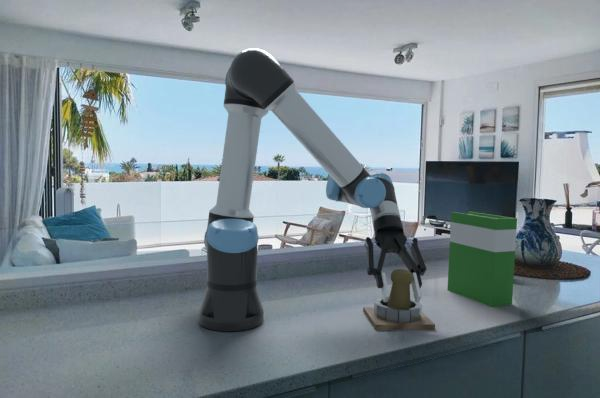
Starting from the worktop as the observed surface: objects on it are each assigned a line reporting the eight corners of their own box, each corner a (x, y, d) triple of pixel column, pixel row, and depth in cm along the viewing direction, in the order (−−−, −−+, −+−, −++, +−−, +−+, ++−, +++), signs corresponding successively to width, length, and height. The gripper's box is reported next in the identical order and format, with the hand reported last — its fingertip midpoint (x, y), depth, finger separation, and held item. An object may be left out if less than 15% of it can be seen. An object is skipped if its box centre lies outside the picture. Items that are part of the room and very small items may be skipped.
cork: (411, 320, 109) (416, 274, 108) (385, 316, 110) (389, 271, 109) (410, 312, 115) (414, 268, 114) (385, 309, 116) (389, 266, 115)
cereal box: (447, 289, 141) (451, 212, 139) (466, 288, 144) (470, 211, 142) (491, 306, 125) (496, 219, 123) (511, 304, 128) (517, 218, 126)
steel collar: (381, 323, 106) (381, 310, 106) (370, 308, 117) (370, 296, 117) (427, 322, 107) (427, 310, 107) (412, 308, 118) (412, 296, 118)
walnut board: (375, 329, 105) (375, 324, 105) (363, 311, 118) (363, 306, 118) (435, 329, 106) (435, 324, 106) (416, 311, 119) (416, 306, 119)
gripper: (419, 231, 127) (438, 307, 112) (347, 230, 125) (358, 307, 110) (427, 213, 121) (448, 291, 106) (352, 212, 120) (363, 291, 105)
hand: (402, 299), depth 108 cm, fingers open, 7 cm apart
